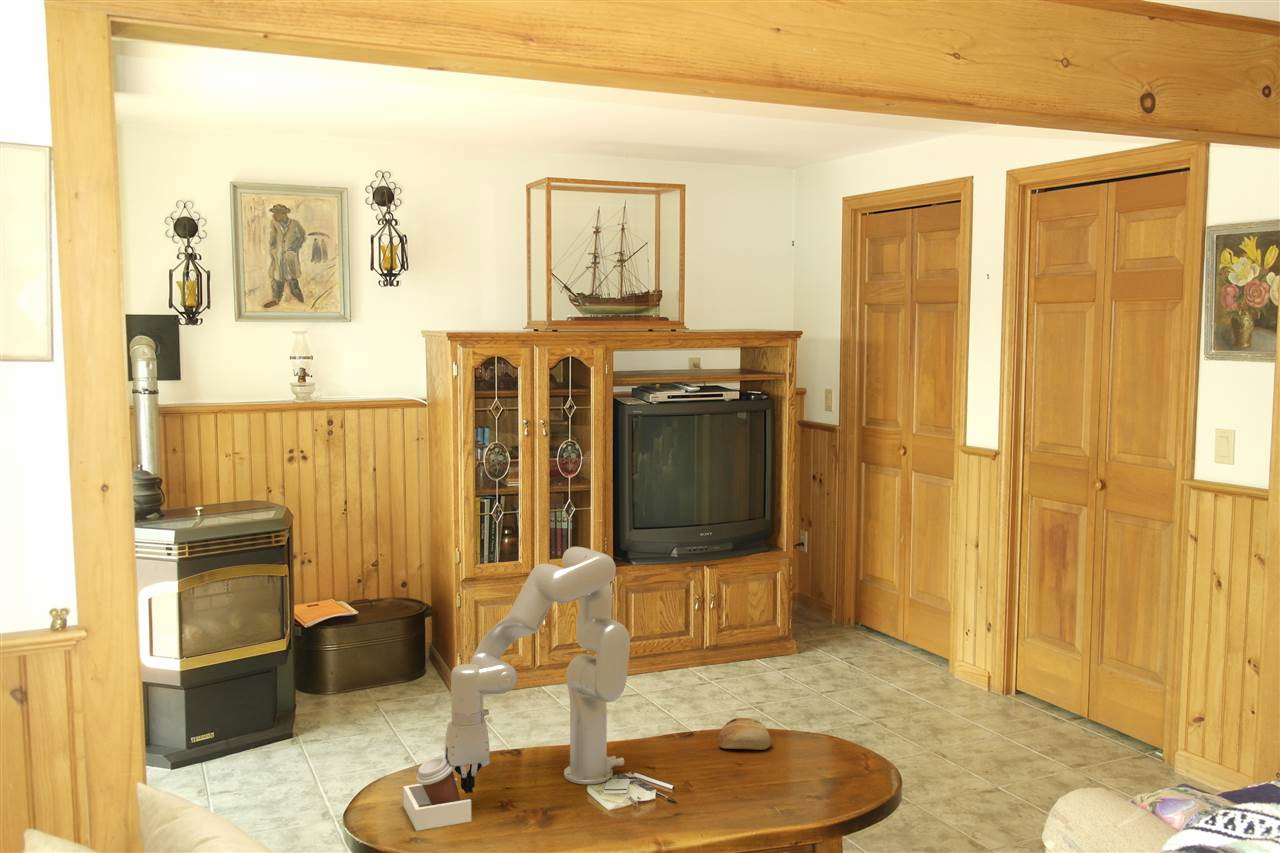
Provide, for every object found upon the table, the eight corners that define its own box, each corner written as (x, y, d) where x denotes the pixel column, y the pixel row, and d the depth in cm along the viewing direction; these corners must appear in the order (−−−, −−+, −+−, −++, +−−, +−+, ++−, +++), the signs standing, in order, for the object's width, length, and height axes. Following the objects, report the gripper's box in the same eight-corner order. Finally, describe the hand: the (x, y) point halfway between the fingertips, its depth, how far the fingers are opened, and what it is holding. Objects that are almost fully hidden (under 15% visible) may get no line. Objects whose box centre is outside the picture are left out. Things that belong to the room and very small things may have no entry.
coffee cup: (450, 821, 258) (433, 776, 255) (422, 818, 263) (406, 775, 260) (474, 797, 265) (458, 754, 263) (446, 795, 270) (430, 752, 268)
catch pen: (456, 797, 272) (456, 778, 272) (471, 821, 259) (471, 800, 259) (403, 806, 267) (403, 786, 267) (416, 830, 254) (415, 809, 254)
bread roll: (714, 742, 311) (715, 714, 311) (767, 741, 312) (767, 713, 312) (719, 755, 302) (720, 726, 301) (773, 753, 303) (774, 725, 302)
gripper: (493, 708, 270) (493, 780, 272) (432, 716, 264) (433, 790, 266) (502, 717, 264) (502, 792, 265) (440, 726, 258) (440, 802, 259)
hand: (467, 791), depth 265 cm, fingers closed
